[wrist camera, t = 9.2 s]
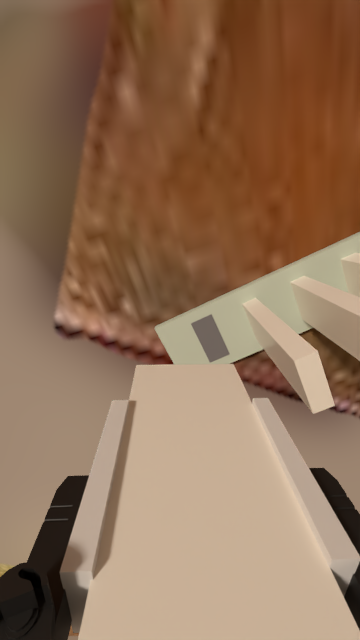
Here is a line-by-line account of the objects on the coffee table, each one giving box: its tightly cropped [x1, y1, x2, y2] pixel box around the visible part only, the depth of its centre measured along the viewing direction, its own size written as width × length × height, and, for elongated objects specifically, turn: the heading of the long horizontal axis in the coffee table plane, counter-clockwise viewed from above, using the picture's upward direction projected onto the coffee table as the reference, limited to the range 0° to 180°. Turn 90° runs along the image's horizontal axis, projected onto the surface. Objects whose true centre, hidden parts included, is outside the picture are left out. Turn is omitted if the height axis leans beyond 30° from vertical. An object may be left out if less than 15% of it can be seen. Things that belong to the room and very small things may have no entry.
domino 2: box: [242, 298, 335, 414], centre depth 30 cm, size 2×6×16 cm, turn 25°
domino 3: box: [290, 276, 360, 361], centre depth 29 cm, size 2×6×16 cm, turn 25°
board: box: [155, 232, 360, 365], centre depth 37 cm, size 10×39×1 cm, turn 115°
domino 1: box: [78, 364, 360, 640], centre depth 9 cm, size 2×6×16 cm, turn 89°
